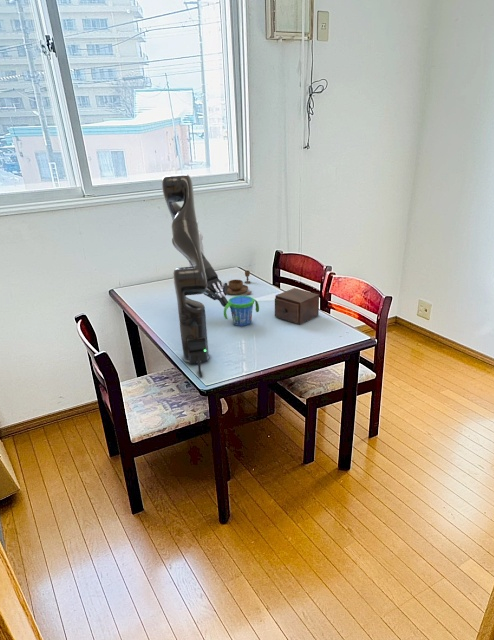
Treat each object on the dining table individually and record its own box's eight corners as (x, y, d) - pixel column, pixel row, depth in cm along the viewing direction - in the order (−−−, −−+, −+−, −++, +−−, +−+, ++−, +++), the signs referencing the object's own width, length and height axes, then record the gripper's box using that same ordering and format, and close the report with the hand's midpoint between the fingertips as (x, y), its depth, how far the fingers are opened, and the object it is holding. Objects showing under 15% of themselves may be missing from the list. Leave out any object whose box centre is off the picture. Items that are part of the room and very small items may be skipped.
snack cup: (228, 330, 202) (227, 307, 196) (220, 321, 210) (218, 298, 205) (264, 324, 207) (263, 300, 201) (254, 315, 215) (253, 293, 210)
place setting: (215, 289, 246) (214, 278, 243) (247, 281, 256) (247, 269, 253) (236, 298, 234) (236, 286, 231) (269, 289, 245) (269, 277, 242)
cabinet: (300, 324, 206) (300, 302, 201) (275, 316, 214) (275, 295, 209) (318, 315, 214) (319, 294, 209) (294, 308, 221) (294, 287, 216)
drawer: (295, 324, 204) (295, 306, 200) (272, 316, 211) (272, 299, 207) (314, 315, 212) (314, 297, 208) (291, 308, 219) (292, 291, 215)
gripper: (196, 270, 204) (219, 305, 204) (220, 263, 213) (241, 297, 212) (189, 280, 210) (211, 314, 209) (212, 273, 218) (233, 306, 218)
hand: (226, 305), depth 211 cm, fingers closed
